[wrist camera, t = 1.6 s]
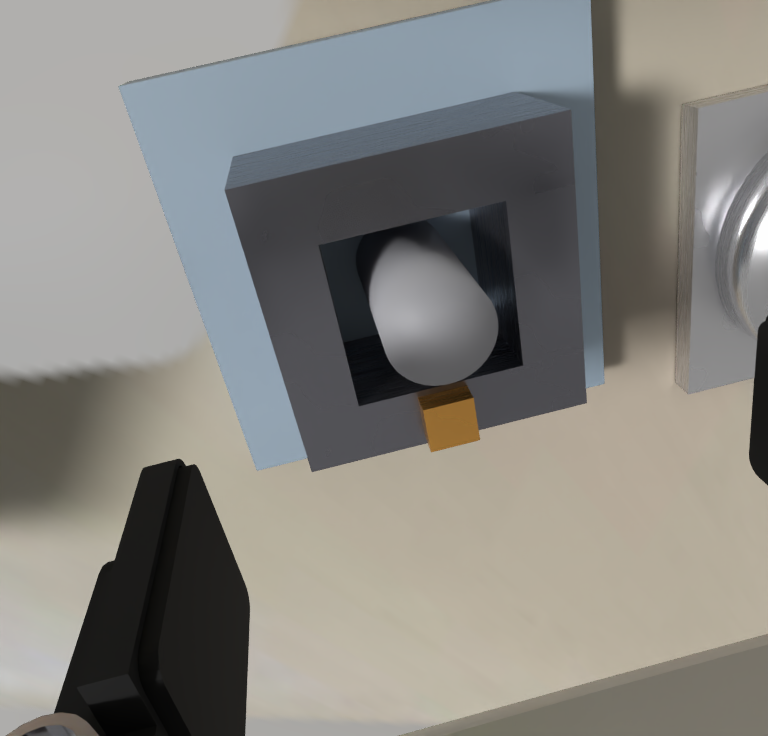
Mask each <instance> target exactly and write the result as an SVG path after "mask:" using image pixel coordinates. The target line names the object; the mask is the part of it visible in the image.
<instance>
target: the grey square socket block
mask: <svg viewBox="0 0 768 736" xmlns="http://www.w3.org/2000/svg"><path fill="white" fill-rule="evenodd" d="M225 194H226V197H227V200H228V203H229V206H230V210H231V213H232V216H233V219H234V223H235V226H236V229H237V232H238V235H239V239H240V242H241V245H242V248H243V252H244V255H245V258H246V261H247V264H248V268H249V271H250V274H251V277H252V281H253V284H254V287H255V290H256V294H257V297H258V300H259V303H260V306H261V310H262V313H263V316H264V319H265V323H266V326H267V329H268V332H269V335H270V339H271V342H272V345H273V348H274V352H275V355H276V358H277V361H278V364H279V368H280V371H281V374H282V377H283V381H284V384H285V387H286V390H287V393H288V397H289V400H290V403H291V406H292V410H293V413H294V416H295V419H296V422H297V426H298V429H299V432H300V435H301V439H302V442H303V445H304V448H305V451H306V455H307V458H308V461H309V464H310V468H311V471H312V472H314V471H318V470H322V469H326V468H330V467H334V466H338V465H342V464H346V463H350V462H354V461H358V460H362V459H366V458H370V457H374V456H378V455H382V454H386V453H390V452H394V451H398V450H402V449H406V448H410V447H414V446H418V445H422V444H426V443H428V445H429V448H430V451H431V452H434V451H438V450H442V449H446V448H450V447H454V446H458V445H462V444H466V443H470V442H474V441H478V440H480V437H479V430H481V429H485V428H489V427H493V426H497V425H501V424H505V423H509V422H513V421H517V420H521V419H525V418H529V417H533V416H537V415H541V414H545V413H549V412H553V411H557V410H561V409H565V408H569V407H573V406H577V405H581V404H585V403H587V399H586V380H585V360H584V341H583V322H582V303H581V284H580V265H579V246H578V227H577V208H576V189H575V170H574V150H573V131H572V112H571V109H568V108H565V107H562V106H559V105H556V104H553V103H549V102H546V101H543V100H540V99H537V98H534V97H530V96H527V95H524V94H521V93H518V92H510V93H506V94H502V95H497V96H493V97H489V98H484V99H480V100H476V101H471V102H467V103H463V104H458V105H454V106H450V107H445V108H441V109H437V110H432V111H428V112H424V113H419V114H415V115H411V116H406V117H402V118H398V119H393V120H389V121H385V122H380V123H376V124H371V125H367V126H363V127H358V128H354V129H350V130H345V131H341V132H337V133H332V134H328V135H324V136H319V137H315V138H311V139H306V140H302V141H298V142H293V143H289V144H285V145H280V146H276V147H272V148H267V149H263V150H259V151H254V152H250V153H246V154H241V155H237V156H233V158H232V162H231V166H230V170H229V174H228V178H227V182H226V186H225ZM465 210H469V214H470V222H471V230H472V237H473V245H474V252H475V260H476V267H477V275H478V282H479V286H480V287H481V289H482V290H483V291H484V292H485V294H486V295H487V296H488V298H489V299H490V300H491V302H492V304H493V306H494V307H495V310H496V313H497V318H498V335H497V340H496V343H495V346H494V348H493V350H492V352H491V354H490V355H489V357H488V358H487V360H486V361H485V362H484V363H483V364H482V366H481V367H479V368H478V369H477V370H476V371H475V372H474V373H472V374H471V375H469V376H468V377H466V378H464V379H462V380H460V381H457V382H454V383H451V384H447V385H439V386H429V385H422V384H418V383H415V382H413V381H410V380H408V379H407V378H405V377H403V376H402V375H401V374H400V373H398V372H397V371H396V370H395V369H394V367H393V366H392V365H391V363H390V362H389V360H388V358H387V356H386V353H385V350H384V347H383V344H382V341H381V338H380V336H379V334H376V335H372V336H368V337H364V338H360V339H356V340H352V341H348V342H344V340H343V336H342V332H341V328H340V324H339V320H338V316H337V312H336V308H335V304H334V300H333V296H332V292H331V288H330V284H329V280H328V276H327V272H326V268H325V264H324V260H323V256H322V252H321V248H320V245H321V244H326V243H330V242H334V241H338V240H343V239H347V238H351V237H355V236H359V235H364V234H368V233H372V232H376V231H380V230H385V229H389V228H393V227H397V226H402V225H406V224H410V223H414V222H418V221H423V220H427V219H431V218H435V217H439V216H444V215H448V214H452V213H456V212H461V211H465Z"/></svg>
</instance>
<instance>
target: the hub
mask: <svg viewBox="0 0 768 736" xmlns="http://www.w3.org/2000/svg"><path fill="white" fill-rule="evenodd" d="M767 316H768V84H767V85H763V86H759V87H754V88H750V89H746V90H741V91H737V92H733V93H729V94H724V95H720V96H716V97H711V98H707V99H703V100H699V101H694V102H690V103H686V104H682V124H681V165H680V207H679V248H678V289H677V331H676V372H675V383H676V384H677V385H678V386H679V387H681V388H682V389H683V390H684V391H685V392H686V393H687V394H692V393H696V392H700V391H704V390H708V389H712V388H716V387H720V386H724V385H727V384H731V383H735V382H739V381H743V380H747V379H751V378H754V377H755V362H756V348H757V334H758V328H759V326H760V324H761V323H762V322H764V321H766V317H767Z"/></svg>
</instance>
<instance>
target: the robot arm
mask: <svg viewBox="0 0 768 736" xmlns="http://www.w3.org/2000/svg"><path fill="white" fill-rule="evenodd" d="M749 459H750V463H751V466H752V468H753V470H754V472H755V473H756V475H757V476H758V477H759V478H760V479H761V480H762V481H764V482H765V483H766V484H767V485H768V316H767V317H766V321H764V322H762V323H761V324H760V326H759V328H758V334H757V348H756V362H755V377H754V391H753V405H752V419H751V433H750V448H749ZM249 620H250V603H249V596H248V592H247V588H246V585H245V582H244V580H243V578H242V575H241V573H240V570H239V568H238V565H237V563H236V560H235V558H234V555H233V553H232V550H231V548H230V545H229V543H228V540H227V538H226V535H225V533H224V530H223V528H222V525H221V523H220V520H219V518H218V515H217V513H216V510H215V508H214V505H213V503H212V500H211V498H210V496H209V493H208V491H207V488H206V486H205V483H204V481H203V478H202V476H201V473H200V471H199V469H198V467H197V466H196V465H195V464H193V465H189V466H186V465H185V464H184V462H183V461H182V460H181V459H176V460H172V461H168V462H164V463H160V464H156V465H152V466H148V467H145V468H143V470H142V472H141V474H140V478H139V481H138V484H137V488H136V491H135V494H134V498H133V501H132V504H131V508H130V511H129V514H128V518H127V521H126V524H125V528H124V531H123V534H122V538H121V541H120V544H119V548H118V551H117V554H116V558H115V561H111V562H107V563H106V564H105V565H104V566H103V567H102V569H101V571H100V573H99V575H98V578H97V581H96V585H95V588H94V591H93V594H92V597H91V600H90V603H89V606H88V609H87V612H86V616H85V619H84V622H83V625H82V628H81V631H80V634H79V637H78V640H77V643H76V647H75V650H74V653H73V656H72V659H71V662H70V665H69V668H68V671H67V675H66V678H65V681H64V684H63V687H62V690H61V693H60V696H59V699H58V702H57V706H56V709H55V712H54V714H50V715H44V716H41V717H38V718H36V719H34V720H32V721H30V722H27V723H25V724H23V725H21V726H19V727H18V728H17V729H15V730H14V731H12V732H11V733H9V734H8V735H6V736H245V724H246V698H247V672H248V646H249ZM399 736H768V634H766V635H762V636H758V637H755V638H751V639H747V640H744V641H740V642H736V643H733V644H729V645H725V646H722V647H718V648H714V649H710V650H707V651H703V652H699V653H696V654H692V655H688V656H685V657H681V658H677V659H674V660H670V661H666V662H663V663H659V664H655V665H652V666H648V667H645V668H641V669H637V670H634V671H630V672H626V673H623V674H619V675H615V676H612V677H608V678H604V679H601V680H597V681H593V682H590V683H586V684H582V685H579V686H575V687H572V688H568V689H564V690H561V691H557V692H554V693H550V694H546V695H543V696H539V697H536V698H532V699H528V700H525V701H521V702H518V703H514V704H511V705H507V706H503V707H500V708H496V709H493V710H489V711H485V712H482V713H478V714H475V715H471V716H467V717H464V718H460V719H457V720H453V721H449V722H446V723H442V724H439V725H435V726H431V727H428V728H424V729H421V730H417V731H414V732H410V733H406V734H403V735H399Z"/></svg>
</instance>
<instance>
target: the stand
mask: <svg viewBox="0 0 768 736" xmlns="http://www.w3.org/2000/svg"><path fill="white" fill-rule="evenodd" d="M119 89H120V92H121V95H122V98H123V101H124V103H125V106H126V109H127V112H128V115H129V117H130V120H131V123H132V126H133V128H134V131H135V134H136V137H137V140H138V142H139V145H140V148H141V151H142V153H143V156H144V159H145V162H146V164H147V167H148V170H149V173H150V176H151V178H152V181H153V184H154V187H155V189H156V192H157V195H158V197H159V201H160V203H161V206H162V209H163V212H164V214H165V217H166V220H167V223H168V225H169V228H170V231H171V234H172V236H173V239H174V242H175V245H176V247H177V250H178V253H179V256H180V259H181V261H182V264H183V267H184V270H185V273H186V275H187V278H188V281H189V284H190V286H191V289H192V292H193V295H194V298H195V300H196V303H197V306H198V309H199V311H200V314H201V317H202V320H203V323H204V325H205V328H206V331H207V334H208V336H209V339H210V342H211V345H212V348H213V350H214V353H215V356H216V359H217V361H218V364H219V367H220V370H221V372H222V375H223V378H224V381H225V384H226V386H227V389H228V392H229V395H230V397H231V400H232V403H233V406H234V409H235V411H236V414H237V417H238V420H239V422H240V425H241V428H242V431H243V433H244V436H245V439H246V442H247V445H248V447H249V450H250V453H251V456H252V458H253V461H254V464H255V467H256V470H257V471H258V470H262V469H266V468H270V467H274V466H278V465H282V464H286V463H290V462H294V461H298V460H302V459H306V458H307V455H306V451H305V448H304V445H303V442H302V439H301V435H300V432H299V429H298V426H297V422H296V419H295V416H294V413H293V410H292V406H291V403H290V400H289V397H288V393H287V390H286V387H285V384H284V381H283V377H282V374H281V371H280V368H279V364H278V361H277V358H276V355H275V352H274V348H273V345H272V342H271V339H270V335H269V332H268V329H267V326H266V323H265V319H264V316H263V313H262V310H261V306H260V303H259V300H258V297H257V294H256V290H255V287H254V284H253V281H252V277H251V274H250V271H249V268H248V264H247V261H246V258H245V255H244V252H243V248H242V245H241V242H240V239H239V235H238V232H237V229H236V226H235V223H234V219H233V216H232V213H231V210H230V206H229V203H228V200H227V197H226V194H225V186H226V182H227V178H228V174H229V170H230V166H231V162H232V158H233V156H237V155H241V154H246V153H250V152H254V151H259V150H263V149H267V148H272V147H276V146H280V145H285V144H289V143H293V142H298V141H302V140H306V139H311V138H315V137H319V136H324V135H328V134H332V133H337V132H341V131H345V130H350V129H354V128H358V127H363V126H367V125H371V124H376V123H380V122H385V121H389V120H393V119H398V118H402V117H406V116H411V115H415V114H419V113H424V112H428V111H432V110H437V109H441V108H445V107H450V106H454V105H458V104H463V103H467V102H471V101H476V100H480V99H484V98H489V97H493V96H497V95H502V94H506V93H510V92H518V93H521V94H524V95H527V96H530V97H534V98H537V99H540V100H543V101H546V102H549V103H553V104H556V105H559V106H562V107H565V108H568V109H571V112H572V131H573V150H574V170H575V189H576V208H577V227H578V246H579V265H580V284H581V303H582V322H583V341H584V360H585V380H586V388H589V387H593V386H597V385H601V384H604V356H603V329H602V301H601V274H600V246H599V219H598V191H597V164H596V136H595V108H594V81H593V53H592V26H591V0H491V1H486V2H482V3H477V4H473V5H468V6H464V7H459V8H455V9H450V10H446V11H442V12H437V13H433V14H428V15H424V16H419V17H415V18H410V19H406V20H401V21H397V22H392V23H388V24H384V25H379V26H375V27H370V28H366V29H361V30H357V31H352V32H348V33H343V34H339V35H335V36H330V37H326V38H321V39H317V40H312V41H308V42H303V43H299V44H294V45H290V46H285V47H281V48H277V49H272V50H268V51H263V52H259V53H254V54H250V55H246V56H241V57H236V58H232V59H228V60H223V61H219V62H215V63H210V64H205V65H201V66H196V67H192V68H187V69H183V70H179V71H175V72H170V73H165V74H161V75H156V76H152V77H147V78H143V79H139V80H134V81H129V82H127V83H125V84H123V85H120V86H119ZM320 248H321V252H322V256H323V260H324V264H325V268H326V272H327V276H328V280H329V284H330V288H331V292H332V296H333V300H334V304H335V308H336V312H337V316H338V320H339V324H340V328H341V332H342V336H343V340H344V342H348V341H352V340H356V339H360V338H364V337H368V336H372V335H376V334H379V336H380V338H381V341H382V344H383V347H384V350H385V353H386V356H387V358H388V360H389V362H390V363H391V365H392V366H393V367H394V369H395V370H396V371H397V372H398V373H400V374H401V375H402V376H403V377H405V378H407V379H408V380H410V381H413V382H415V383H418V384H422V385H429V386H439V385H447V384H451V383H454V382H457V381H460V380H462V379H464V378H466V377H468V376H469V375H471V374H472V373H474V372H475V371H476V370H477V369H478V368H479V367H481V366H482V364H483V363H484V362H485V361H486V360H487V358H488V357H489V355H490V354H491V352H492V350H493V348H494V346H495V343H496V340H497V335H498V318H497V313H496V310H495V307H494V306H493V304H492V302H491V300H490V299H489V298H488V296H487V295H486V294H485V292H484V291H483V290H482V289H481V287H480V286H479V282H478V275H477V267H476V260H475V252H474V245H473V237H472V230H471V222H470V214H469V210H465V211H461V212H456V213H452V214H448V215H444V216H439V217H435V218H431V219H427V220H423V221H418V222H414V223H410V224H406V225H402V226H397V227H393V228H389V229H385V230H380V231H376V232H372V233H368V234H364V235H359V236H355V237H351V238H347V239H343V240H338V241H334V242H330V243H326V244H321V245H320Z"/></svg>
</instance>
